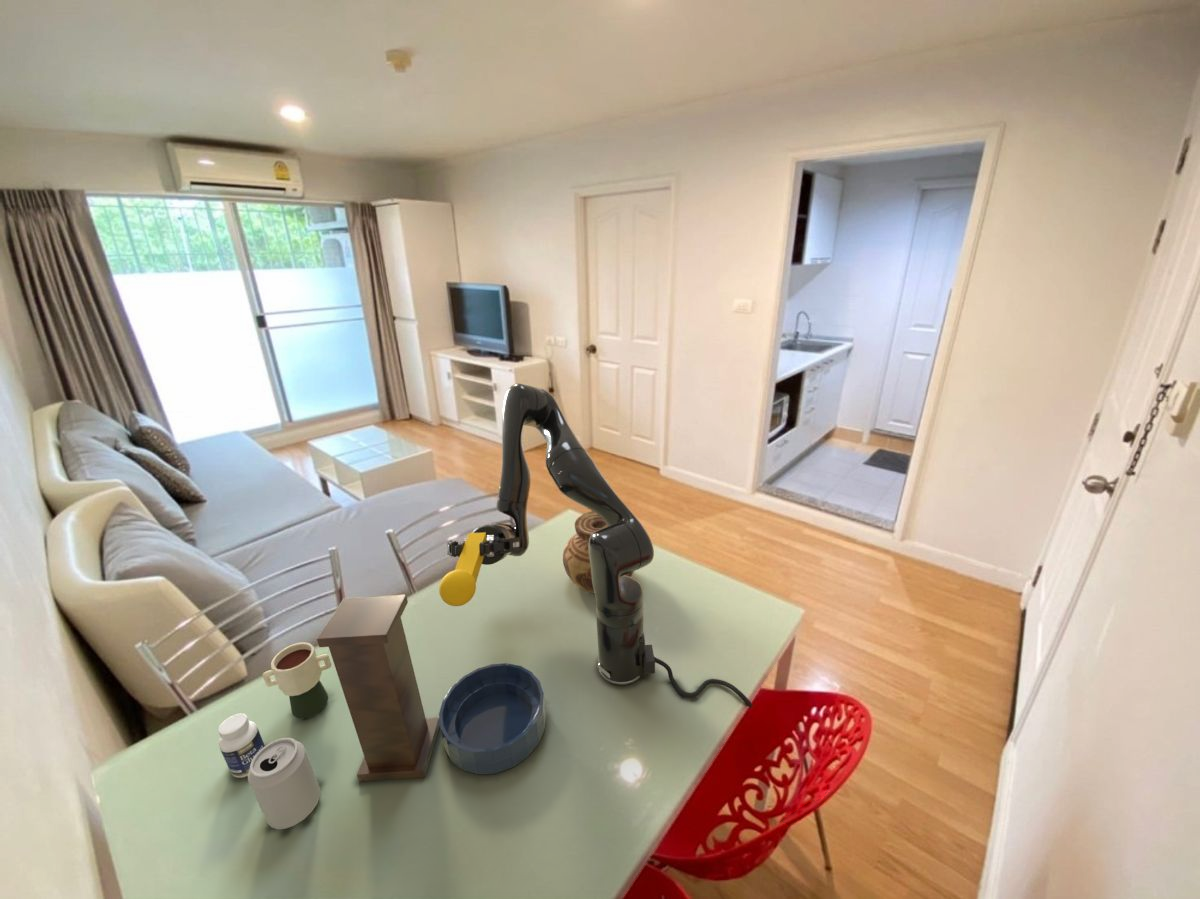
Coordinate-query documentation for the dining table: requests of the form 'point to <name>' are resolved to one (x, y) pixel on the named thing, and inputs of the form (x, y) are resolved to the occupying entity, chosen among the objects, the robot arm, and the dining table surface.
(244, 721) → the pill bottle
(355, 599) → the stand
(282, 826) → the can
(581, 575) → the clay pot
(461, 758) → the bowl
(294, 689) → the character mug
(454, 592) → the yellow lever
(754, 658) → the dining table surface
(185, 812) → the dining table surface
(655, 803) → the dining table surface
